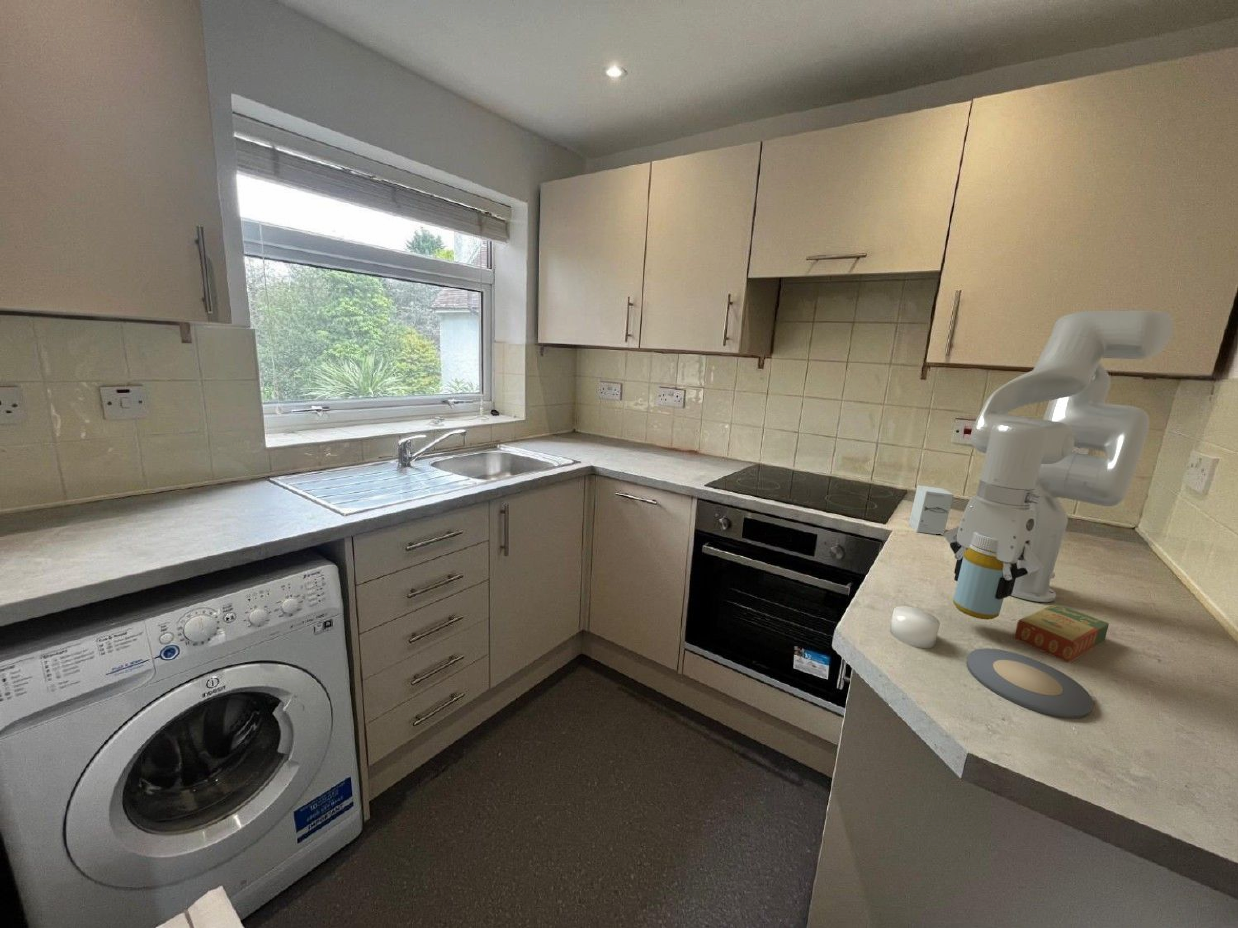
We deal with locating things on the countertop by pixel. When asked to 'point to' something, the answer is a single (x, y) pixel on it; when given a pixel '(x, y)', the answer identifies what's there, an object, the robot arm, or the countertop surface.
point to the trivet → (1029, 683)
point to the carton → (1061, 632)
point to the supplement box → (930, 510)
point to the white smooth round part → (914, 627)
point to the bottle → (979, 579)
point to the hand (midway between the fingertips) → (980, 587)
